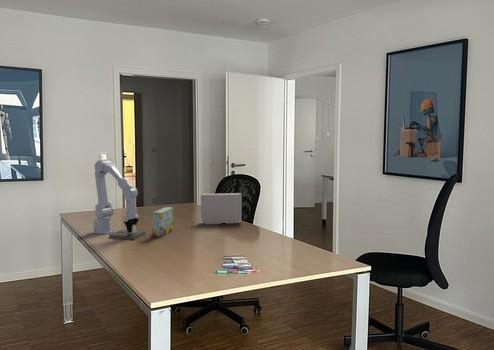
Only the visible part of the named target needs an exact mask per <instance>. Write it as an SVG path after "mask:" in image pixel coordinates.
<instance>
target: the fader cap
mask: <svg viewBox="0 0 494 350" xmlns="http://www.w3.org/2000/svg"><path fill="white" fill-rule="evenodd" d="M136 231H137V225H132V232H131V233H130V234H133V233H136ZM127 233H129V232H127Z"/></svg>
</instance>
